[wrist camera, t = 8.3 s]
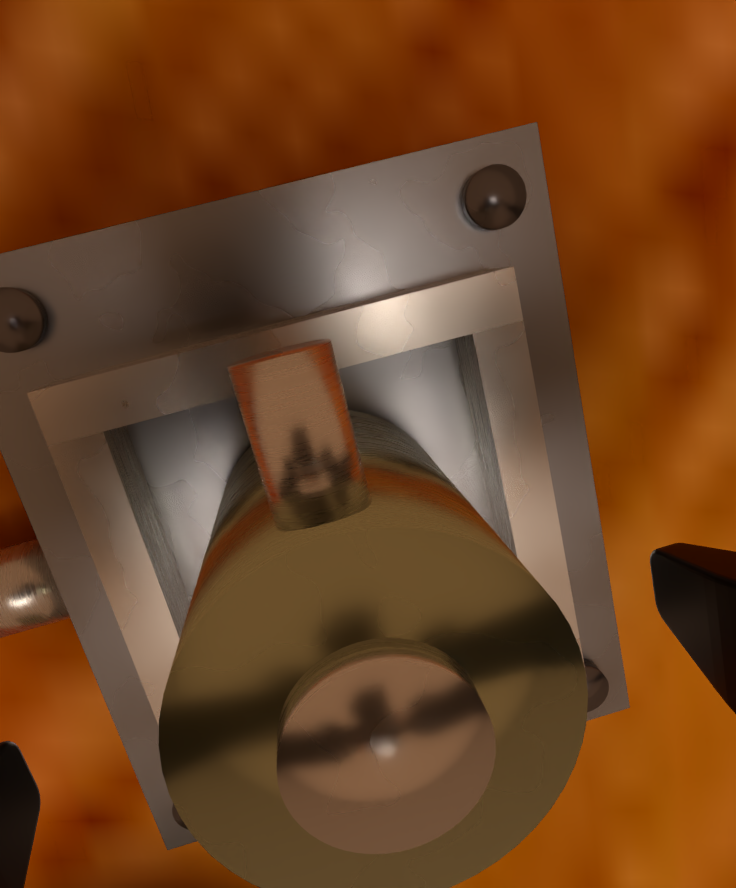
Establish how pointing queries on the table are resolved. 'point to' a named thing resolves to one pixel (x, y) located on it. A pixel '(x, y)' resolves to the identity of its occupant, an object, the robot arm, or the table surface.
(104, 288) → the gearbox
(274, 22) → the table surface
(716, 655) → the robot arm
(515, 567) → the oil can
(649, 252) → the table surface
